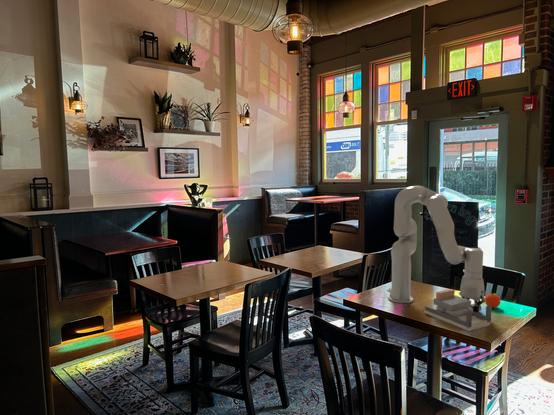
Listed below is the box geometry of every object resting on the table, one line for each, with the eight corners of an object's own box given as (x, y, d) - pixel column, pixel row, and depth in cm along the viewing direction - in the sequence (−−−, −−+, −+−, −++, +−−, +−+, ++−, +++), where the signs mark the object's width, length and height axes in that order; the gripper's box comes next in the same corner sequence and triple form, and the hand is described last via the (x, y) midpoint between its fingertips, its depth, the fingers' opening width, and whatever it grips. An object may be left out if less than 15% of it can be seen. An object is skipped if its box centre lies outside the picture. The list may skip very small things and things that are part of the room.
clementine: (491, 304, 208) (492, 290, 208) (504, 308, 202) (505, 294, 202) (481, 306, 205) (481, 292, 204) (494, 310, 199) (495, 296, 198)
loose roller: (461, 313, 196) (461, 305, 195) (474, 310, 200) (474, 302, 200) (468, 315, 192) (469, 307, 192) (481, 312, 196) (481, 304, 196)
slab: (433, 303, 191) (433, 292, 191) (452, 299, 197) (453, 288, 197) (451, 310, 183) (451, 298, 182) (470, 306, 189) (471, 294, 188)
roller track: (424, 313, 196) (424, 295, 195) (445, 308, 202) (446, 291, 202) (468, 331, 174) (469, 311, 174) (490, 324, 181) (491, 306, 180)
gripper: (452, 271, 200) (451, 307, 202) (484, 279, 185) (482, 319, 187) (463, 269, 203) (461, 305, 205) (494, 277, 189) (492, 316, 190)
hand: (471, 311), depth 196 cm, fingers closed on loose roller, 4 cm apart
